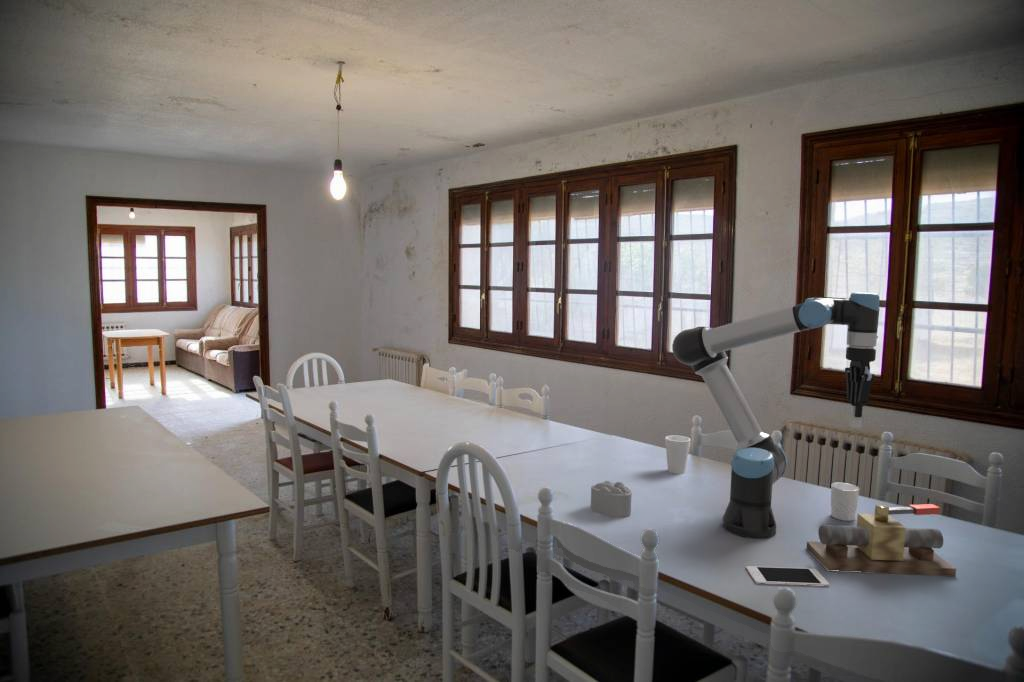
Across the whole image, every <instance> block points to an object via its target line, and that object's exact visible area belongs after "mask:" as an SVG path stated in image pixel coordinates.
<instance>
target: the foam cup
mask: <svg viewBox="0 0 1024 682" xmlns="http://www.w3.org/2000/svg"><path fill="white" fill-rule="evenodd" d="M691 441H692V440H691V438H690V437H688V436H683V435H677V434H676V435H667V436H665V439H664V445H665V451H666V453H665V454H666V464H667V471H668V473H671V474H674V475H683V474H685V473H686V472H685V471H686V468H687V464H688V457H689V454H690V447H691Z"/></svg>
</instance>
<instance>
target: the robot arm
mask: <svg viewBox="0 0 1024 682" xmlns="http://www.w3.org/2000/svg"><path fill="white" fill-rule="evenodd" d="M879 318H880V296H879V294H878V293H876V292H875V293H874V292H873V293H872V292H851V293H850V294H849V298H843V299H842V298H829V297H828V298H827V297H809V298H806V299H805V301H804V302H803V303H799V304H797V305H792V306H788V307H784V308H780V309H778V310H773V311H769V312H767V313H764V314H760V315H756V316H752V317H749V318H746V319H741V320H739V321H735V322H731V323H726V324H724V325H720V326H718V327H709V326H697V327H693V328H690V329H689V328H688V329H684V330H682V331H680V332H679V333H678V334H677V335H675V337H674V338H673V341H672V345H671V346H672V348H671V349H672V353H673V356H674V358H675V359H676V360H677V361H678V362H679V363H681V364H684V365H686V366H690V367H691V368H692V371H693V372H694V374H696V375H698V376H701V377H702V379H703V381H704V383H705V385H706V387H707V388H708V390H709V393H710V395H711V396H712V398H713V400H714V402H715V404H716V406H717V407H718V410H719V411H720V413H721V415H722V417H723V419H724V421H725V424H727V427H728V429H729V431H730V432H731V434H732V436H733V438H734V440H735V442H736V445H735V451H734V453H733V454H732V459H731V463H730V465H731V472H730V476H731V477H730V491H729V492H730V494H729V502H728V504H727V507H726V509H725V511H724V514H723V516H722V527H723V528H724V529H725V530H726V531H728V532H729V533H732V534H734V535H736V536H741V537H746V538H752V539H764V538H765V539H767V538H770V537H773V536H775V535H776V533H777V523H776V520H775V515H774V512H773V508H772V497H773V496H772V494H773V485H774V484H775V483H776V482H777V481H779V480H780V478H781V477H783V475H784V474H785V472H786V469H787V466H788V458H787V454H786V452H785V451H784V449H783V448H782V447H780V445H778V444H775V442H774V440H773V438H772V437H771V435H770V434H769V433H765V432H764V431H763V430H762V429H761V426H760V425H759V423H758V421H757V419H756V417H755V415H754V414H753V411H752V410H751V407H750V406H749V404H748V402H747V401H746V399H745V397H744V395H743V393H742V391H741V388H740V387H739V385H738V383H737V381H736V380H735V377H734V376H733V374H732V373H731V371H730V369H729V367H728V365H727V362H728V359H729V357H728V355H727V353H726V351H730V350H734V349H738V348H741V347H746V346H750V345H754V344H757V343H760V342H761V343H762V342H766V341H769V340H773V339H776V338H780V337H784V336H788V335H791V334H796V333H799V332H803V331H808V330H812V329H817V328H822V327H824V326H826V325H837V326H838V325H840V326H841V325H842V326H847V331H846V332H847V333H846V345H847V347H846V348H845V349H846V350H845V359H846V360H848V361H850V362H849V367H845V368H844V372H845V377H846V378H845V382H846V383H845V384H846V401H848V402H849V405H850V408H849V409H850V412H849V424H848V427H850V428H852V429H862V424H863V423H862V422H863V410H864V406H868V405H869V404H868V403H869V399H870V394H871V391H872V385H873V381H874V380H875V377H876V376H875V374H874V373H871V372H870V371H871V366H870V365H871V364H870V363H871V362H875V361H876V354H877V349H876V348H875V347H876V346H877V340H878V338H879V336H878V330H879V329H878V327H879Z"/></svg>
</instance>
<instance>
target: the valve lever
mask: <svg viewBox="0 0 1024 682" xmlns="http://www.w3.org/2000/svg"><path fill="white" fill-rule="evenodd" d="M940 511H941V508H940V507H939V506H937V505H935V504H933V503H925V504H909V505H908V506H896V507H895V506H893V507H889V506H887V505H884V504H875V506H874V514H875V516H874V518H875V519H876V520H878V521H883V522H887V521H888V516H891V515H911V514H913V515H915V516H924V515H925V516H927V515H928V516H929V515H939V514H940Z"/></svg>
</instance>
